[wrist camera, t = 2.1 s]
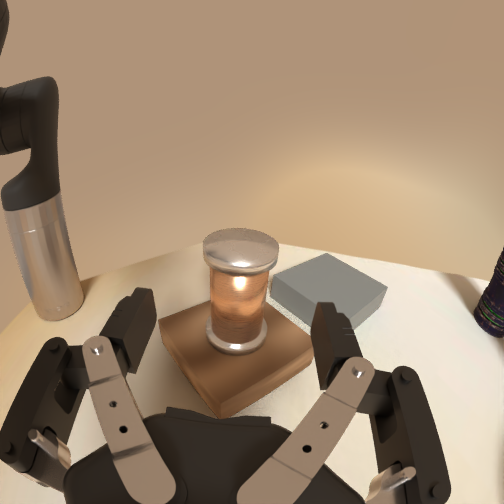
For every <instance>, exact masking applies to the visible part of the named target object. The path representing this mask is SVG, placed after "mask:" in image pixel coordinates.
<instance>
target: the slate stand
mask: <svg viewBox="0 0 504 504" xmlns="http://www.w3.org/2000/svg"><path fill="white" fill-rule="evenodd" d="M387 288H388V287H387V286H385V285H383V284H381V283H380V282H378V281H376V280H374V279H373V278H371V277H369V276H367V275H366V274H364V273H362V272H360V271H358V270H357V269H355V268H353V267H351V266H349V265H348V264H346V263H344V262H342V261H340V260H339V259H337V258H335V257H333V256H331V255H329V254H328V253H325V254H323V255H321V256H318V257H316V258H314V259H311V260H309V261H306V262H304V263H302V264H299V265H297V266H294V267H292V268H290V269H287V270H285V271H282V272H280V273H278V274H275V275H273V282H272V290H271V297H272V298H273V299H274V300H275V301H277V302H278V303H279V304H281V305H282V306H283V307H285V308H286V309H287V310H289V311H290V312H291V313H293V314H294V315H295V316H297V317H298V318H299V319H301V320H302V321H303V322H305V323H306V324H307V325H309V326H310V327H311V324H312V320H313V317H314V313H315V309H316V305H317V303H318V302H333V303H334V304H335V307H336V310H337V313H344V314H345V315H346V316H347V318H348V319H349V320H350V323H351V325H352V329H353V330H354V329H356V328H357V327H358V326H359V325H360V324H361V323H362V322H364V321H365V320H366V319H367V318H368V317H369V316H370V315H372V314H373V313H374V312H375V311H376V310H377V309H378V308H379V307H380V305H381V303H382V301H383V298H384V296H385V293H386V291H387Z"/></svg>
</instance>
